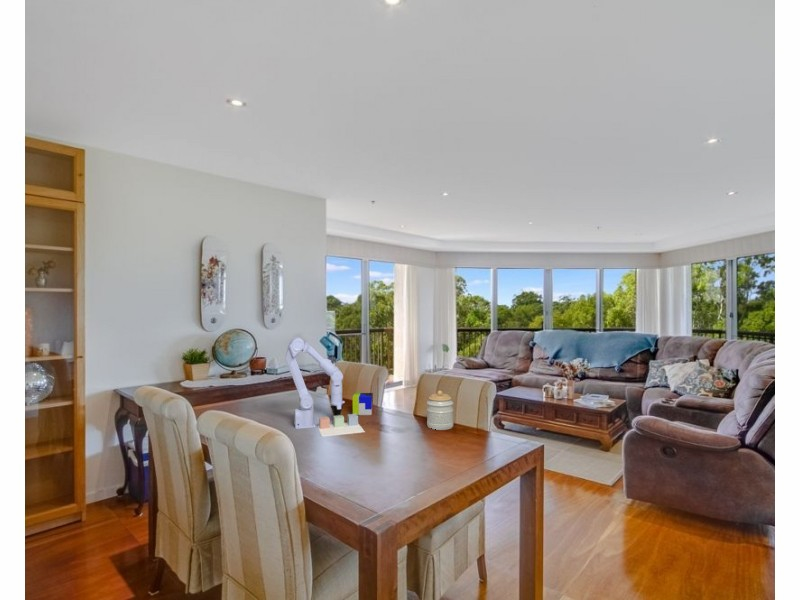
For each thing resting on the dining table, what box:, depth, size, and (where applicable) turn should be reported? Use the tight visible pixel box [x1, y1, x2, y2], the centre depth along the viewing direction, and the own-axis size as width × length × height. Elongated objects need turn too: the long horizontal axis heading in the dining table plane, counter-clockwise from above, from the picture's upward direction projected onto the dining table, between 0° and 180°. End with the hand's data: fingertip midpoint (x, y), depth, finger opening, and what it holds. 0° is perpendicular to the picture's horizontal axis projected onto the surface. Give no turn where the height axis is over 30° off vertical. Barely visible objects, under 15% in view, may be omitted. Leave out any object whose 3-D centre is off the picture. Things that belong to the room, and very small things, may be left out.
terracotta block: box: [318, 415, 331, 429], centre depth 208 cm, size 4×4×4 cm
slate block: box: [346, 413, 359, 426], centre depth 213 cm, size 4×4×4 cm
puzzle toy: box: [352, 392, 374, 416], centre depth 235 cm, size 10×10×10 cm
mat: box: [317, 422, 366, 438], centre depth 206 cm, size 20×18×1 cm
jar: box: [426, 390, 454, 431], centre depth 209 cm, size 13×13×18 cm
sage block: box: [332, 414, 345, 427], centre depth 210 cm, size 4×4×4 cm
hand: (336, 420), depth 216 cm, fingers closed
